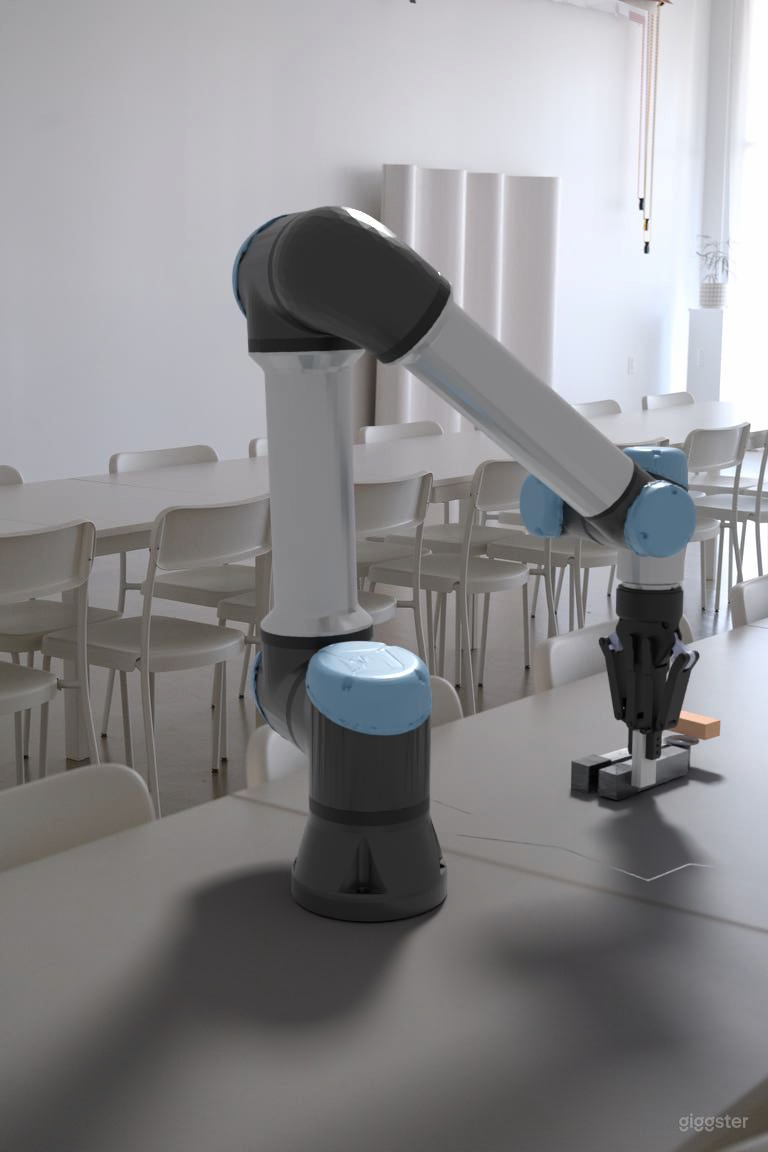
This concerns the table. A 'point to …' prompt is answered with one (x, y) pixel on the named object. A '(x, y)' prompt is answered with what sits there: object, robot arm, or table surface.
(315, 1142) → the table surface
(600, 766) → the tong fixed
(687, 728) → the tab
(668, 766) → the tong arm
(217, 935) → the table surface
